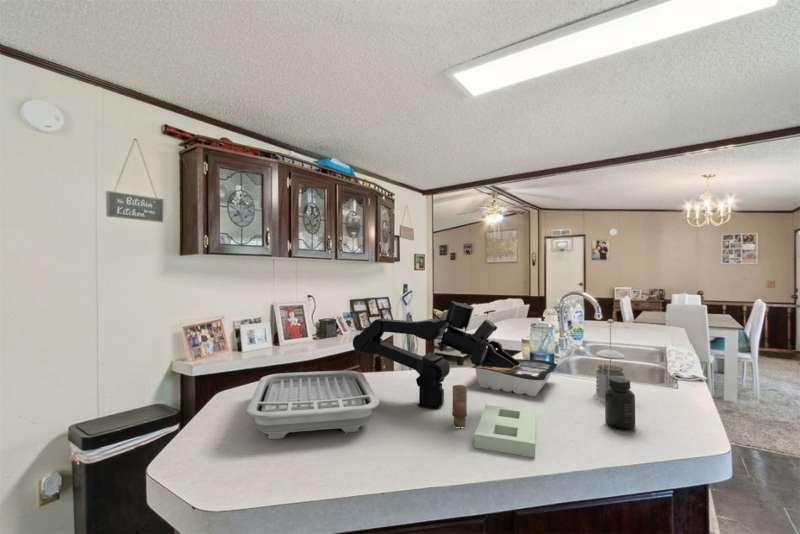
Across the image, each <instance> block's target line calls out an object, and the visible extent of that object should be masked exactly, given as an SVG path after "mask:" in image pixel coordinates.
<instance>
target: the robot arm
mask: <svg viewBox="0 0 800 534" xmlns="http://www.w3.org/2000/svg"><path fill="white" fill-rule="evenodd" d="M474 309H475V308H474V307H473V306H472V305H470V304H468V303H462V302H457V301H454V300H451V301H450V302H449V304H448V310H447V313H446V314H447V315H446V317H445V318H441V319H440V318H433V319H425V320H424V319H423V320H417V321H416V320H403V319H391V318H390V319H388V318H385V317H383V318H382V317H381V318H377V319H374V321H372V322H371V324H370V325H368V326H367V327H365V329H363V330H362V331H361V332H360V333H359V334H356V335H355V336H354V337H353V338H352V347H353V350H354V351H355V352H357V353H360V354H366V355H378V356H380V357H383V358H385V359H387V360H390V361H392V362H394V363H397V364H400V365H403V366H405V367H407V368H410V369H411V370H414V371H415V372H417V374H418V375H419V376H418V377H416V379H415V381H416V384H417V387H418V388H419V389H418V390H419V396H418V398H419V399H418V400H419V401H418V403H417V407H418V408H420V407H421V408H425V409H426V408H427V409H434V410H435V409H436V410H439V409H440V408H441V407H442V405H443V404H444V402H445V389H444V388H443V383H442V382H444V380H445V379H446V377H448V375H449V374H450V371H451V368H450V364H449V362H448V360H446V359H445V358H444V356H443V355H437V354H436V353H433V352H428V353H427V354H423V356H422V355H420V354H418V353H415V352H412V351H409V350H406V349H404V348H401V347H399V346H396V345H394V344H392V343H388V342H386V341H384V339H382V337H383V335H384V333H394V334H402V335H403V334H404V335H412V336H415V337H417V338H419V339H422V340H426V341H429V342H430V341H434V340H437V339H439V338H441V339H440V341H438V342H437V343H436V344H437V346H438V348H439V351H440V352H443V351H445V350H447V348H450V349H453V350H455V351H457V352H460V354H461V355H464V356H465V355H466V356H469V360H470V362H471V364H473V365H474V366H475V365H477V366H482V367H505V368H513V366H518V365H519V363H520V362H519V361H517V360H516V359H517V358H515V357H513V356H512V355H510V354H509V353H508V352H506V351H505V350H504V348H503V345H502V343H501V342H499V341H496V340H491V341H490V340H489V337H491V335H492V334H493V333H494V332H496V330H497V329H498V326H497V325H495V323H494V322H492V321H491V320H490V319H487V318H486V319H485V320H484V321H483V322H482V323H481V324H480V326H479V327H478V328H477V329H476V330H475V332H474V333H471V332H469V333H468V332H466V331H463V330H464V328H468V327H469V325H470V321H471V318H472V314H473V312H474ZM481 360H482V361H483V362H482V363H480V361H481ZM481 364H482V365H481Z"/></svg>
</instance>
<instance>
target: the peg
mask: <svg viewBox="0 0 800 534" xmlns="http://www.w3.org/2000/svg"><path fill="white" fill-rule="evenodd" d="M467 389H468V387H467V386H466V385H462V384H455V385H453V386H452V412H451V416H453V427H454V426H455V427H454V428H456V427H460V428H459V429H462V428H461V427H465V428H466V417H468V413H467V406H468V404H467V402H468V401H467V400H468V399H467V397H468V396H467V395H468V394H467V393H468V391H467Z"/></svg>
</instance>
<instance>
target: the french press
mask: <svg viewBox="0 0 800 534" xmlns="http://www.w3.org/2000/svg"><path fill="white" fill-rule="evenodd" d="M606 322H607V324H609V349H602V350H598V351H597V352H596V353H595V355H596V356H597V357H598V358H602V359H606V360H608V359H609V364H606V362H605V361H604V360H603V363H602V364H599V365H597V368H598V369H597V370H595V372H596V373H595V374H596V376H595V378H596V384H595V387H596V388H595V390H596V391H595V393H594V394H593V395H592V398H594V399H595V400H597V401H599V402H603V403H605V391H606V389H608V388H610V386H609V378H624V379H626V378H625V372H623V371H624V368H623V367H621V366H617V365H612V362H611V360H623V359H625V358H626V356H625V355H624V354H623V353H621V352H619V351H617V350H615V349H611V348H612V346H611V345H612V324H614V323H615V321H614V319H612V318H609V319H608V320H607V321H606Z"/></svg>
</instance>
